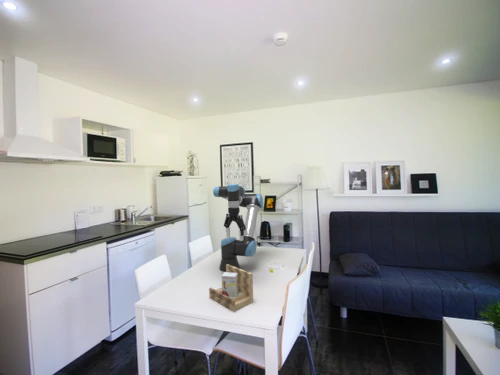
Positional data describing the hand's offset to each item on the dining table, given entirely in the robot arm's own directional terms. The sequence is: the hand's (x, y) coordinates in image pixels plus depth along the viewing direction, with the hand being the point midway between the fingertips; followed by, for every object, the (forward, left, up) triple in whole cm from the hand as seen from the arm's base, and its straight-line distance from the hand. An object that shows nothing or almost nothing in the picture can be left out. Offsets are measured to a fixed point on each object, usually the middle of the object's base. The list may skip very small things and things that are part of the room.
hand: (234, 238), depth 165 cm
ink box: (+17, -19, -26) cm, 36 cm away
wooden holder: (+17, -18, -29) cm, 38 cm away
